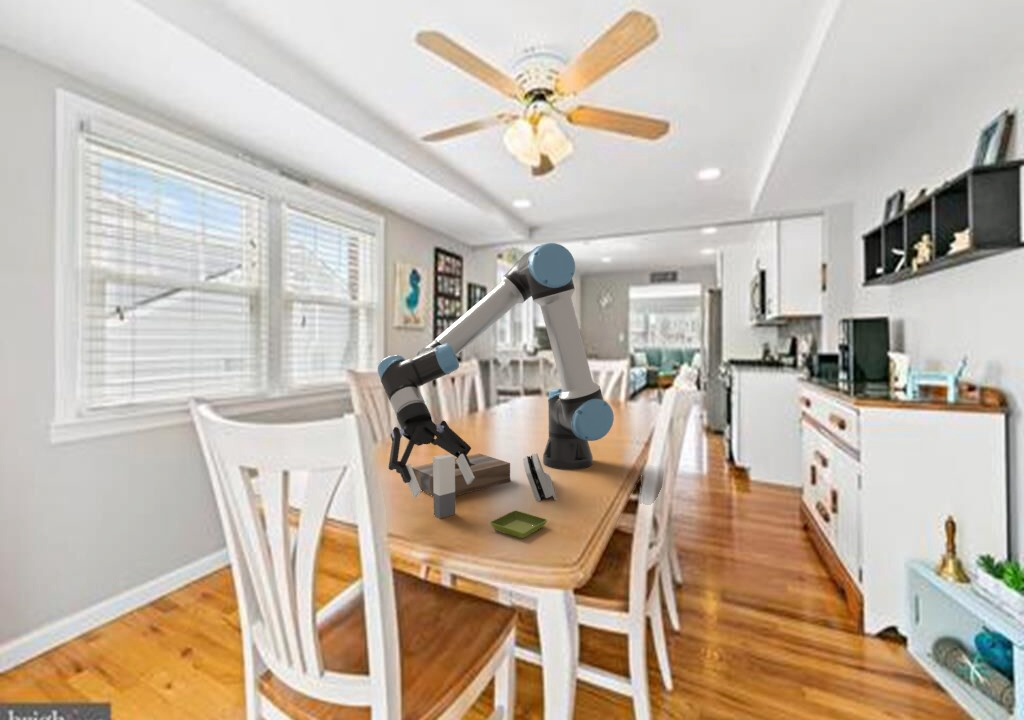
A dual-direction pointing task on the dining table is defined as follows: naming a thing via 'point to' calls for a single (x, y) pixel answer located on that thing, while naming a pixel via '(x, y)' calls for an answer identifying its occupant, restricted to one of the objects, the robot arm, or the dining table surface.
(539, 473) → the grey curved slotted block
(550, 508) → the dining table surface
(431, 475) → the post foot
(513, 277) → the robot arm
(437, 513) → the rail end
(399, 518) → the dining table surface
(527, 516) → the olive green shallow tray
